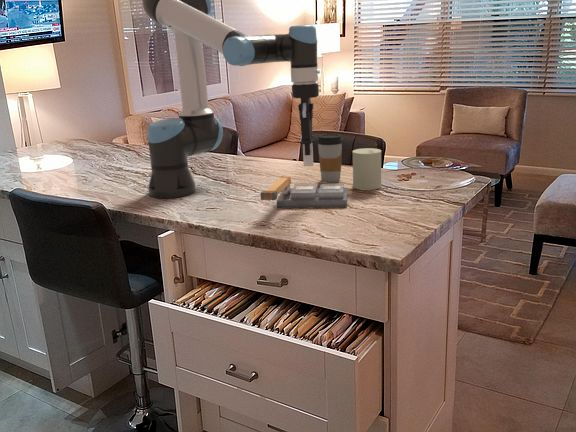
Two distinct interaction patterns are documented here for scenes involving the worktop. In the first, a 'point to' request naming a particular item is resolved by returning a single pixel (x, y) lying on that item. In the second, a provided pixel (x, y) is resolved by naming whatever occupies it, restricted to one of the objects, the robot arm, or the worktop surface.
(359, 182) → the can
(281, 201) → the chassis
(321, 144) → the coffee cup
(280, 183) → the bar
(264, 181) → the worktop surface
